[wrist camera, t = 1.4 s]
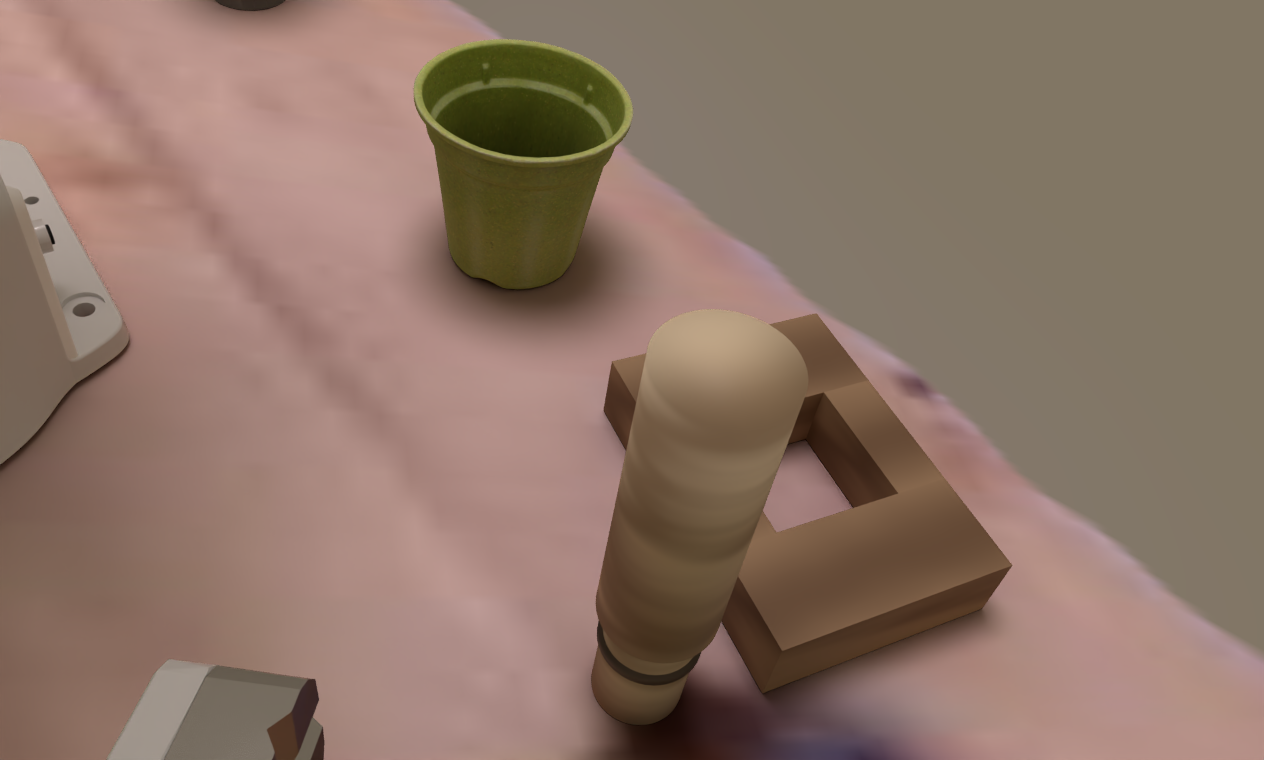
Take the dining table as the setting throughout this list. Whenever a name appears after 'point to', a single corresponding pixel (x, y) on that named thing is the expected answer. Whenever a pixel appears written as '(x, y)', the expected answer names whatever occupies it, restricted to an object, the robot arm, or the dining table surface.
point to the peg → (689, 500)
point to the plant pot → (519, 152)
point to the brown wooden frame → (846, 530)
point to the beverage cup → (250, 4)
